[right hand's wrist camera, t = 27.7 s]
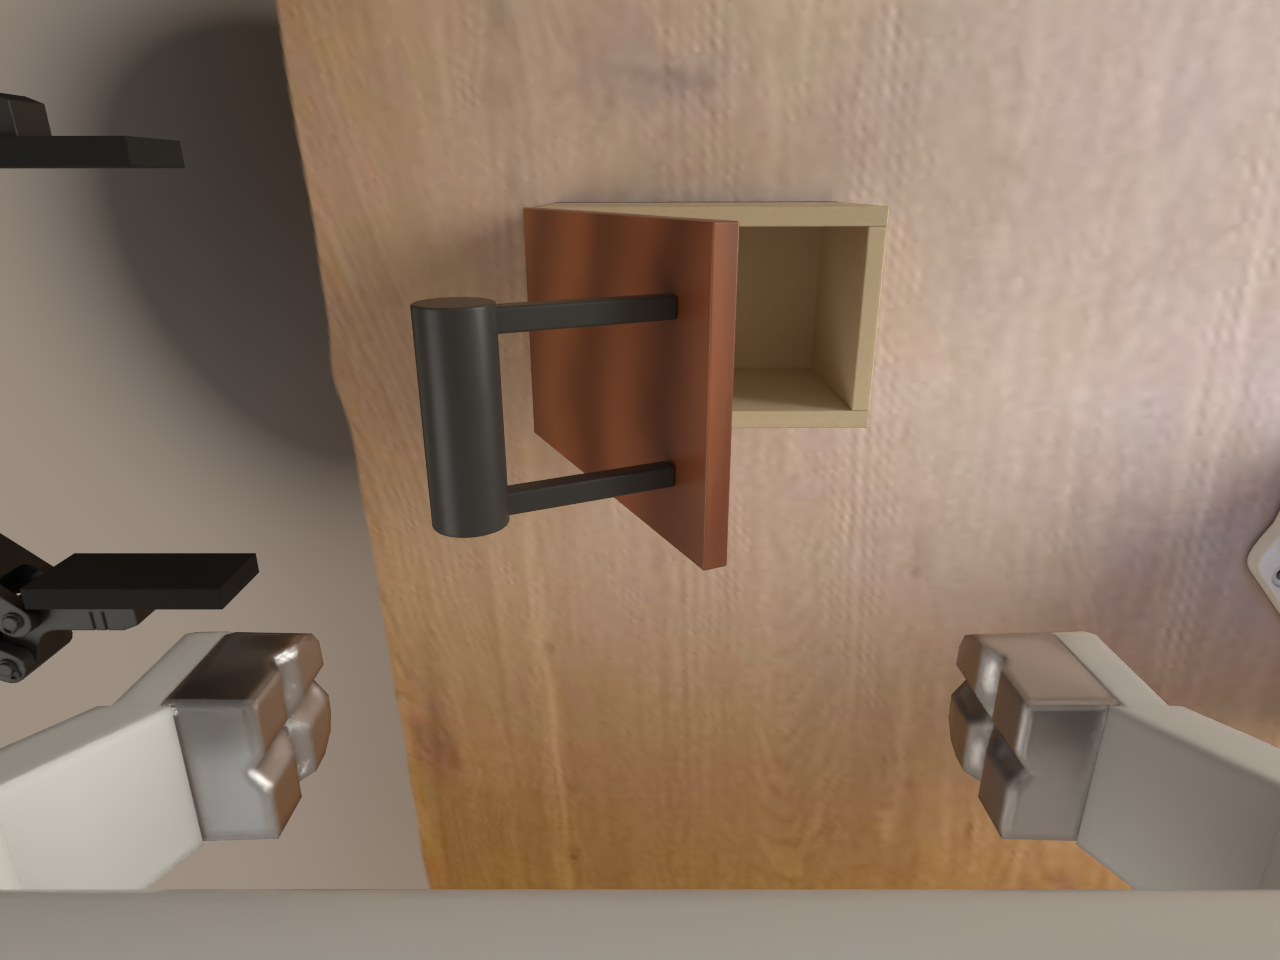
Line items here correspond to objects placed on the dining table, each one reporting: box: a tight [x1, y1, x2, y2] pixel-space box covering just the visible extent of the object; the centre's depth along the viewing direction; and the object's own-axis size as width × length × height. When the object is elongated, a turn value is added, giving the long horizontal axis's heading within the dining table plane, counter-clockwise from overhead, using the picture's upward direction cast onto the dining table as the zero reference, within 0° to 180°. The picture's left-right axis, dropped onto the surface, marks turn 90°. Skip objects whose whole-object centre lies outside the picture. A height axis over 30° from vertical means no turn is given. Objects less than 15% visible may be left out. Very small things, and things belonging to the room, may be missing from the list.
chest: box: [535, 202, 889, 428], centre depth 42 cm, size 16×10×10 cm, turn 90°
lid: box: [410, 208, 739, 570], centre depth 28 cm, size 16×10×8 cm
